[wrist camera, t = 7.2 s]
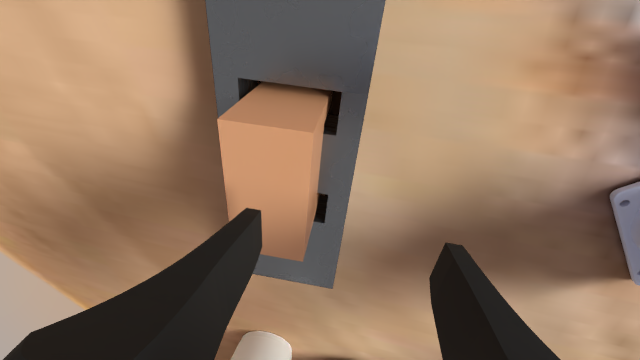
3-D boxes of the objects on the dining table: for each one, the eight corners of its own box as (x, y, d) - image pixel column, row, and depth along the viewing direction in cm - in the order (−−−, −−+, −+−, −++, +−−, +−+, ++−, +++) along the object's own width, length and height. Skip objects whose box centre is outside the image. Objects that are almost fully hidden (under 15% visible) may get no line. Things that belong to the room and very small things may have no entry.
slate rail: (336, 259, 25) (332, 288, 23) (247, 243, 26) (234, 270, 23) (394, -68, 13) (400, -82, 11) (226, -84, 14) (194, -100, 11)
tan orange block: (321, 189, 22) (303, 261, 16) (269, 180, 22) (231, 249, 16) (333, 85, 17) (313, 132, 12) (268, 77, 18) (217, 118, 12)
